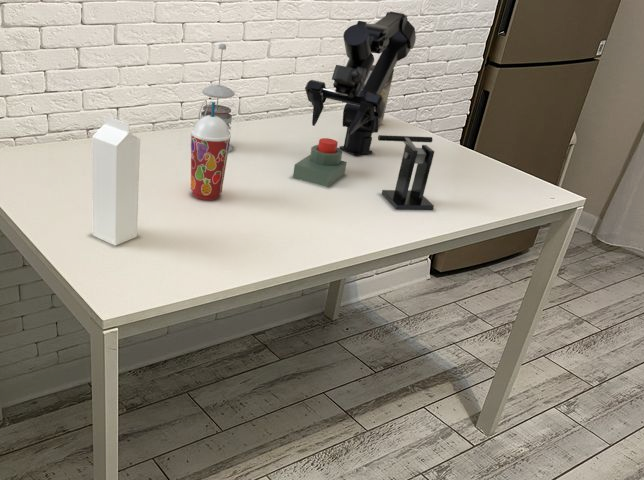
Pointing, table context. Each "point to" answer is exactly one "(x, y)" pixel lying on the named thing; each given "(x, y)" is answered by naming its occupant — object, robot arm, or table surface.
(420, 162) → the lever
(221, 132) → the smoothie
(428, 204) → the black stand
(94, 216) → the milk
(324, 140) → the button
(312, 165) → the control block
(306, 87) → the robot arm
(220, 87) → the french press
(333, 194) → the table surface
